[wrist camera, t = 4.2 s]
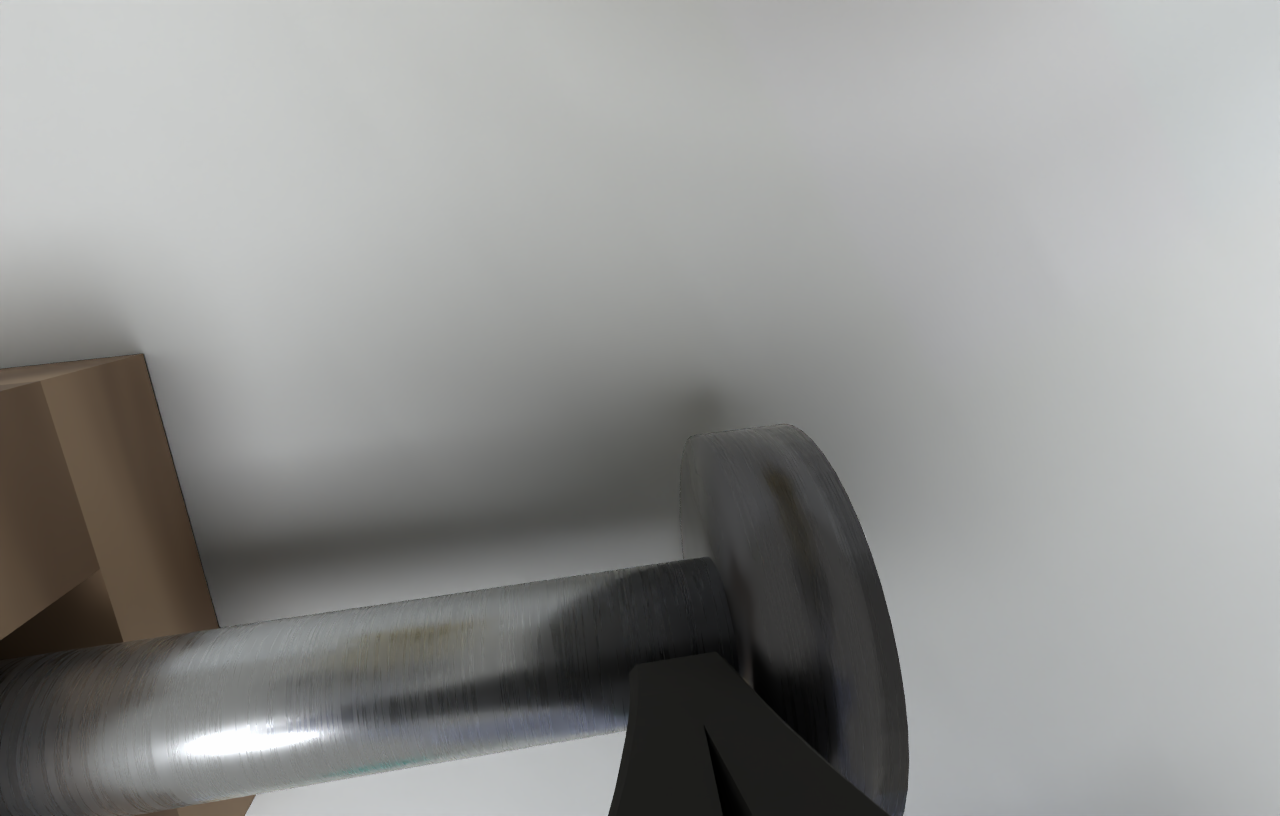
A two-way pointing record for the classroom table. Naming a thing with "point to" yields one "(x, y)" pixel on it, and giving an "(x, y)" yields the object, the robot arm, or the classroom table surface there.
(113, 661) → the shaft
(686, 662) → the robot arm
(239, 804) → the bearing block
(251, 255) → the classroom table surface
